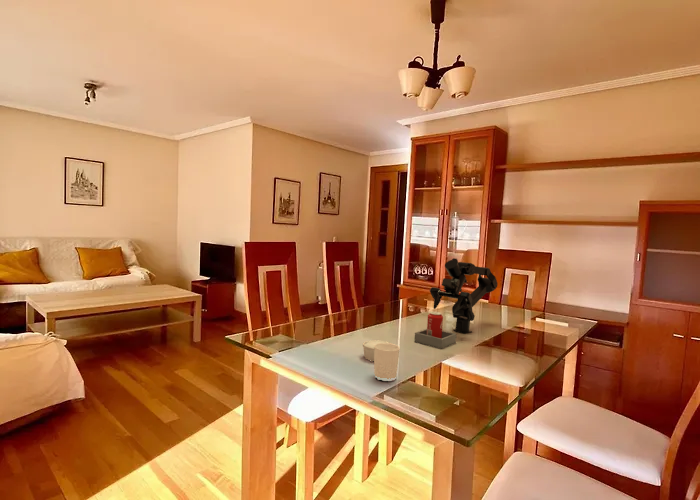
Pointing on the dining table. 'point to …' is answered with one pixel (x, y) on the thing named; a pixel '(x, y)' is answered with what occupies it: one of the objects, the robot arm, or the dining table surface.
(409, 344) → the dining table surface
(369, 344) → the ramekin
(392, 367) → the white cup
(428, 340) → the tray
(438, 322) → the beverage can
